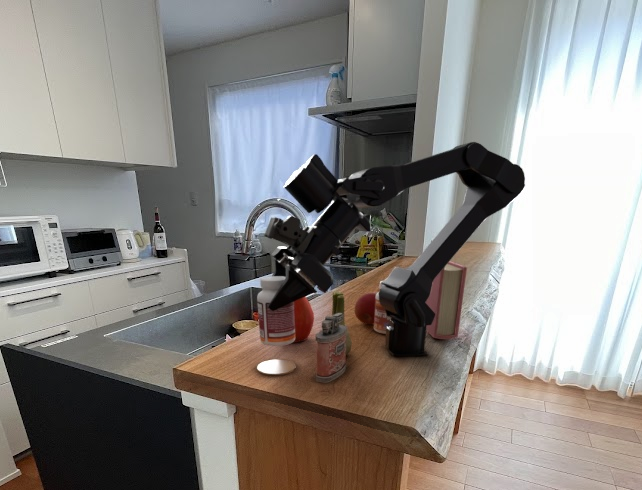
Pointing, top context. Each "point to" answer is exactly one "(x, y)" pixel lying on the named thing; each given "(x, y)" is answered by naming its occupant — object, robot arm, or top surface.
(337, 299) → the fennel bulb
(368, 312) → the apple
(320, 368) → the lighter
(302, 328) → the apple
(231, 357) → the top surface
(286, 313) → the pill bottle
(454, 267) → the book
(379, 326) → the pill bottle
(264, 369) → the gold disc
